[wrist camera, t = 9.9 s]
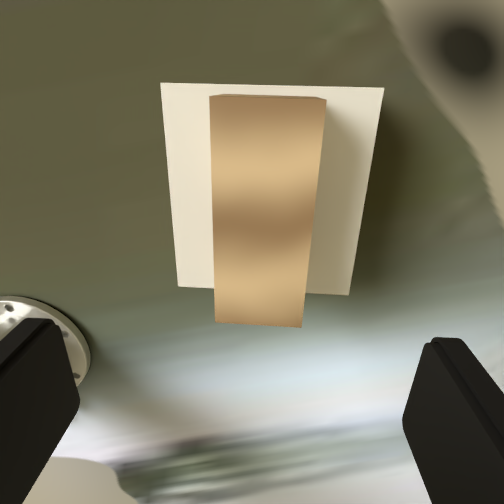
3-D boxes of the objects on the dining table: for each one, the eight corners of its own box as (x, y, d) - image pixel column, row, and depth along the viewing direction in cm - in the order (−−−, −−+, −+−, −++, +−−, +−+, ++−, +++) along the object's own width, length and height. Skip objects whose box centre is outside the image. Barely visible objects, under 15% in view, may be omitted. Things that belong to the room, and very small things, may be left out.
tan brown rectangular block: (294, 259, 27) (301, 327, 20) (232, 256, 28) (215, 322, 20) (309, 94, 22) (326, 99, 14) (232, 92, 22) (209, 96, 15)
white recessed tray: (335, 256, 29) (348, 295, 24) (196, 249, 30) (178, 286, 24) (359, 87, 23) (384, 87, 18) (186, 83, 24) (160, 82, 19)
